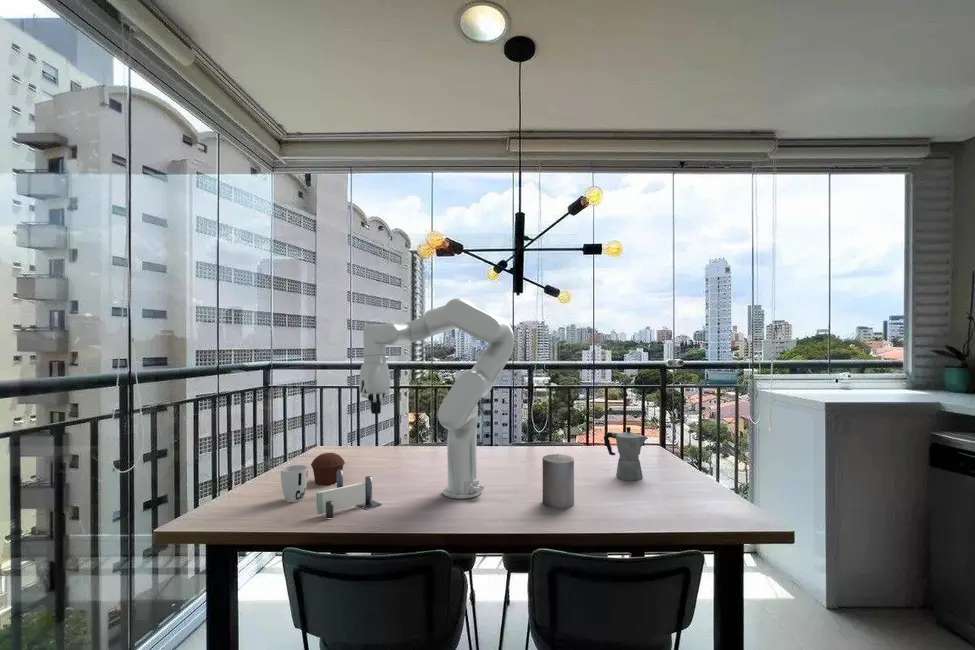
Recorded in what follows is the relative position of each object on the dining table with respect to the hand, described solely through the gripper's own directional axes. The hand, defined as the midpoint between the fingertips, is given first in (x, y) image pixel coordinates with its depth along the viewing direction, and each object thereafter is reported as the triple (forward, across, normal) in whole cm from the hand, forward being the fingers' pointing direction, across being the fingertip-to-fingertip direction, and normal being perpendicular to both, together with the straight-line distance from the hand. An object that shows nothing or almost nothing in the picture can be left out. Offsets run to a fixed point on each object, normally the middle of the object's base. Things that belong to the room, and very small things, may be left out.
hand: (375, 413), depth 168 cm
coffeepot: (+27, -64, +61) cm, 92 cm away
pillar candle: (+26, -25, +57) cm, 68 cm away
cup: (+25, +25, -9) cm, 37 cm away
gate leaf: (+24, +21, +12) cm, 34 cm away
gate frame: (+25, +19, +5) cm, 32 cm away
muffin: (+25, +8, -18) cm, 32 cm away
